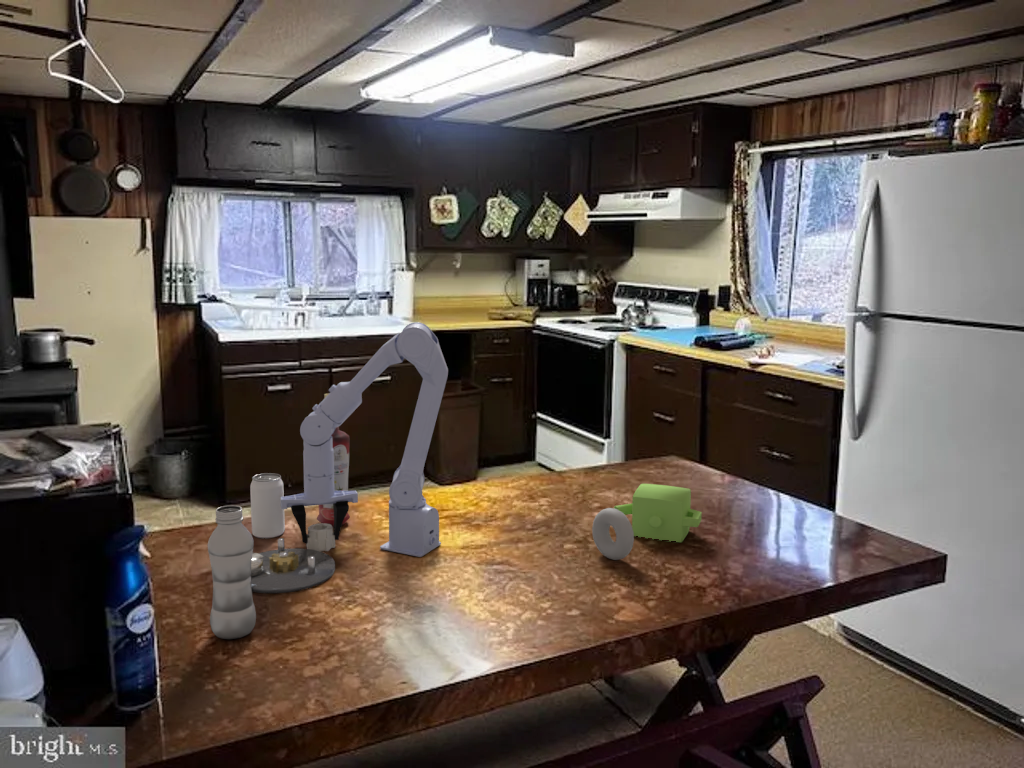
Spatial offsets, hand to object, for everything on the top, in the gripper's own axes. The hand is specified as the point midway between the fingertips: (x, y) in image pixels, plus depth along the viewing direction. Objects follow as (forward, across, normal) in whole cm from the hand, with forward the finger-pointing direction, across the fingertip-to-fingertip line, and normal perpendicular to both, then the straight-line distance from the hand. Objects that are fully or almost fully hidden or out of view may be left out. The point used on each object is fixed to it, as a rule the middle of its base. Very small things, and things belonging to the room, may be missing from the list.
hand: (320, 539), depth 160 cm
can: (+2, +9, -11) cm, 14 cm away
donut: (+2, -52, +23) cm, 57 cm away
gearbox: (+2, -67, +13) cm, 69 cm away
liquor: (+2, -4, -13) cm, 13 cm away
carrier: (+1, +9, +11) cm, 14 cm away
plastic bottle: (+2, +17, +32) cm, 37 cm away
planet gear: (+1, 0, 0) cm, 1 cm away
